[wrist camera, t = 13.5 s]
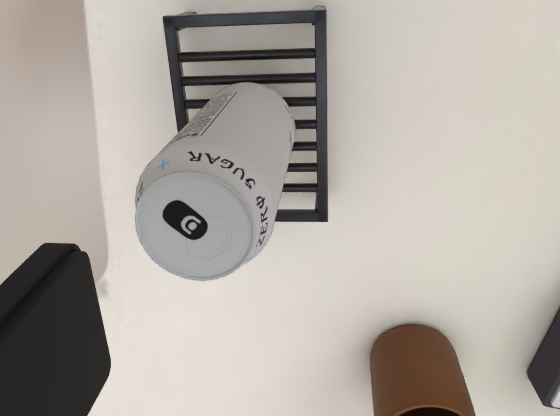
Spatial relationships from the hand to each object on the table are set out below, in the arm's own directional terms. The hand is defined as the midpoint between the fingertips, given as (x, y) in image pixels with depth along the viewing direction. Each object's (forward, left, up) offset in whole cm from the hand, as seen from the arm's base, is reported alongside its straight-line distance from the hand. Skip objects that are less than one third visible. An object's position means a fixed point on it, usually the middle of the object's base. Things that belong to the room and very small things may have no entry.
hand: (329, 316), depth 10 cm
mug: (+28, +7, -30) cm, 42 cm away
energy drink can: (+3, -5, -25) cm, 26 cm away
